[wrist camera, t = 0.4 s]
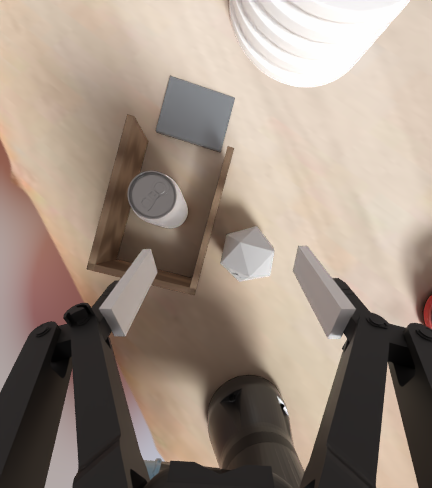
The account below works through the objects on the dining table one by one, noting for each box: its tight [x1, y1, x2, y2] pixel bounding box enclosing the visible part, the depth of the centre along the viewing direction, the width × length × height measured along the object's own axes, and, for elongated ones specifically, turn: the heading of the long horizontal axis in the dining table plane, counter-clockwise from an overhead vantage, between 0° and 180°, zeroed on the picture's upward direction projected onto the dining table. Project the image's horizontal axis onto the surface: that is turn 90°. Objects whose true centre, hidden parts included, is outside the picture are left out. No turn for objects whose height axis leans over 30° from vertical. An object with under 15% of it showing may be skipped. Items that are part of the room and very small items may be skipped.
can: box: [128, 171, 188, 228], centre depth 27 cm, size 6×6×12 cm
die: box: [220, 226, 274, 282], centre depth 30 cm, size 8×9×10 cm
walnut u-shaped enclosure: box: [87, 114, 234, 295], centre depth 29 cm, size 23×16×6 cm
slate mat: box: [156, 76, 235, 152], centre depth 32 cm, size 10×12×1 cm
